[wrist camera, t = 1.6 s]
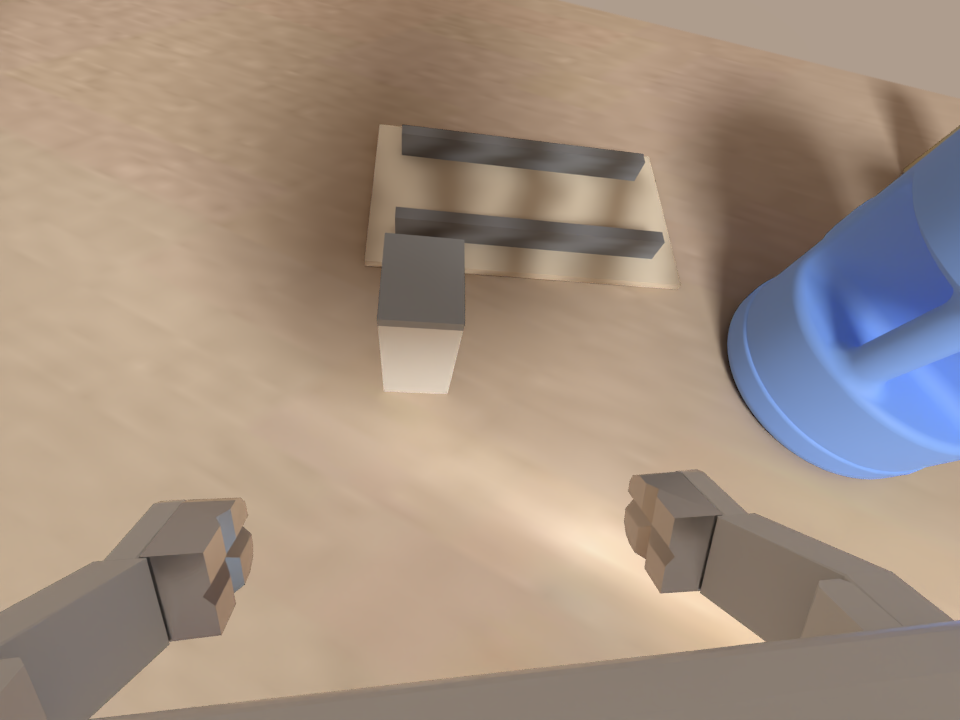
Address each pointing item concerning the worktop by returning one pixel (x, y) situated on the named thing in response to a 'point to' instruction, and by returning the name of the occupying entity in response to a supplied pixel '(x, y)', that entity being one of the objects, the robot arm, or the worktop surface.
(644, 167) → the rail board
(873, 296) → the water jug
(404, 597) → the worktop surface
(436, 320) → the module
